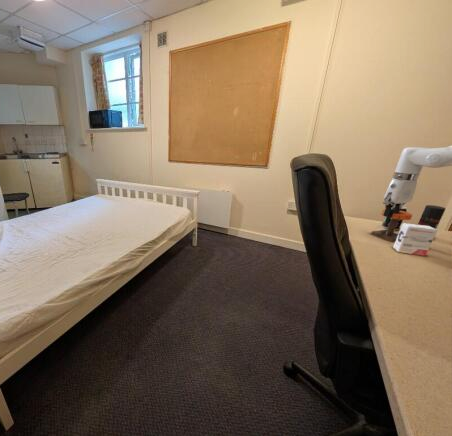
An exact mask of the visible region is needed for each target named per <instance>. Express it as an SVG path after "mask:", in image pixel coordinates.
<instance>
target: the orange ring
mask: <svg viewBox="0 0 452 436" xmlns="http://www.w3.org/2000/svg"><path fill="white" fill-rule="evenodd" d="M385 209H386V208H385ZM385 209H382V211H381V215H382V216H383V214H384V211H385ZM412 217H413V214H412V213H410V212H409V211H408V212H407V211H406V212H404V211H399V214H395V213H393V216H392V218H393V219H399V220H403V221H410V220H411V219H412Z"/></svg>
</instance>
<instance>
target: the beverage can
mask: <svg viewBox="0 0 452 436" xmlns="http://www.w3.org/2000/svg"><path fill="white" fill-rule="evenodd" d="M400 211H404V212H407V211H408V210H407V207H406V206H404V205H403V206H402V208H401V209H400ZM391 219H392V218H389V217H385V216H384V218H383V221H382V224H381V226H382V228H383V229H384V230H387V229H388V226H389V224H390V221H391ZM403 221H404V220H398V223H397V225H396V228H395V230H394V231H398V230H400V229H401V227H402V224H403Z"/></svg>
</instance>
